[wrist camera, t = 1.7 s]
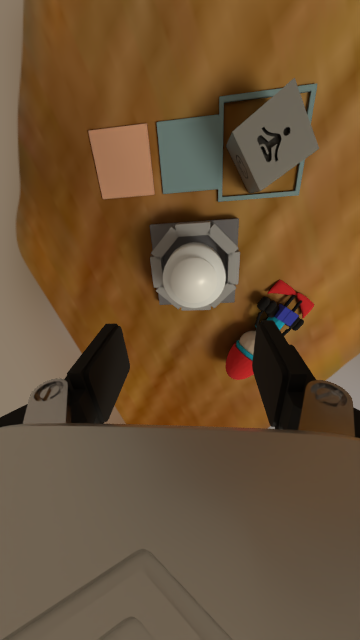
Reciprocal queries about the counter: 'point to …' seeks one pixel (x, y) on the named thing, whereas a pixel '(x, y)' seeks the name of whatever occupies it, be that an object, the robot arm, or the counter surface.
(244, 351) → the toy figure
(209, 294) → the dome
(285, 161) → the dice cube
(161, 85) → the counter surface
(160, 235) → the dome base
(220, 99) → the sorting mat
